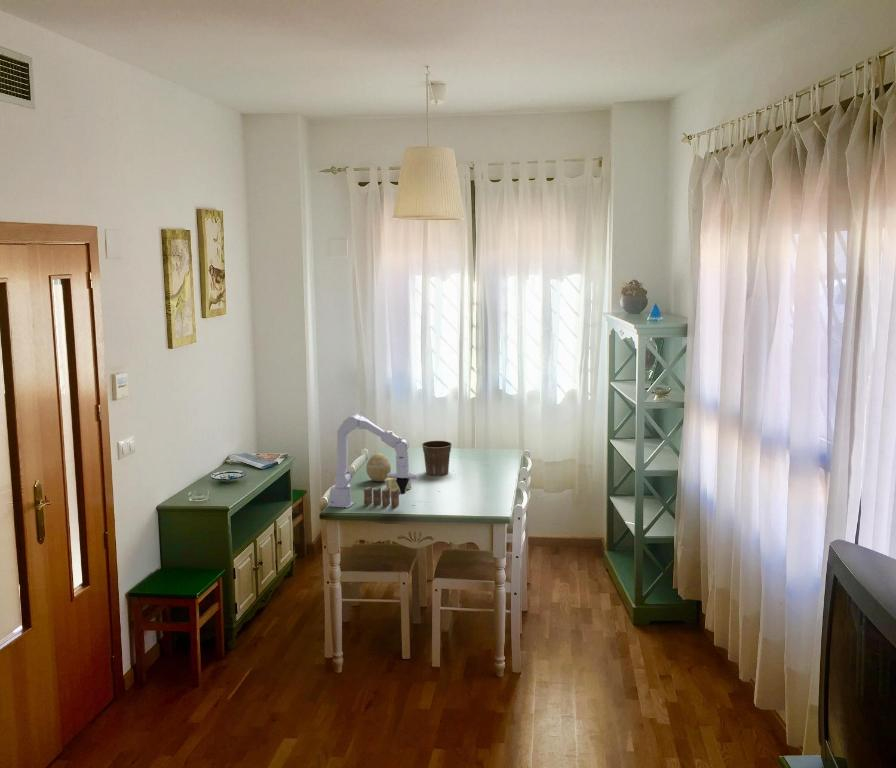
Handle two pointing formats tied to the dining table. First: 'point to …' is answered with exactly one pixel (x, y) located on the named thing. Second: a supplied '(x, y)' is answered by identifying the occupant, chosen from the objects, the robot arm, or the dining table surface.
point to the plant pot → (437, 457)
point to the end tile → (367, 496)
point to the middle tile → (385, 497)
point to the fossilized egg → (378, 467)
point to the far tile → (394, 498)
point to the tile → (377, 496)
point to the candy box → (395, 484)
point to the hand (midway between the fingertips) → (403, 493)
